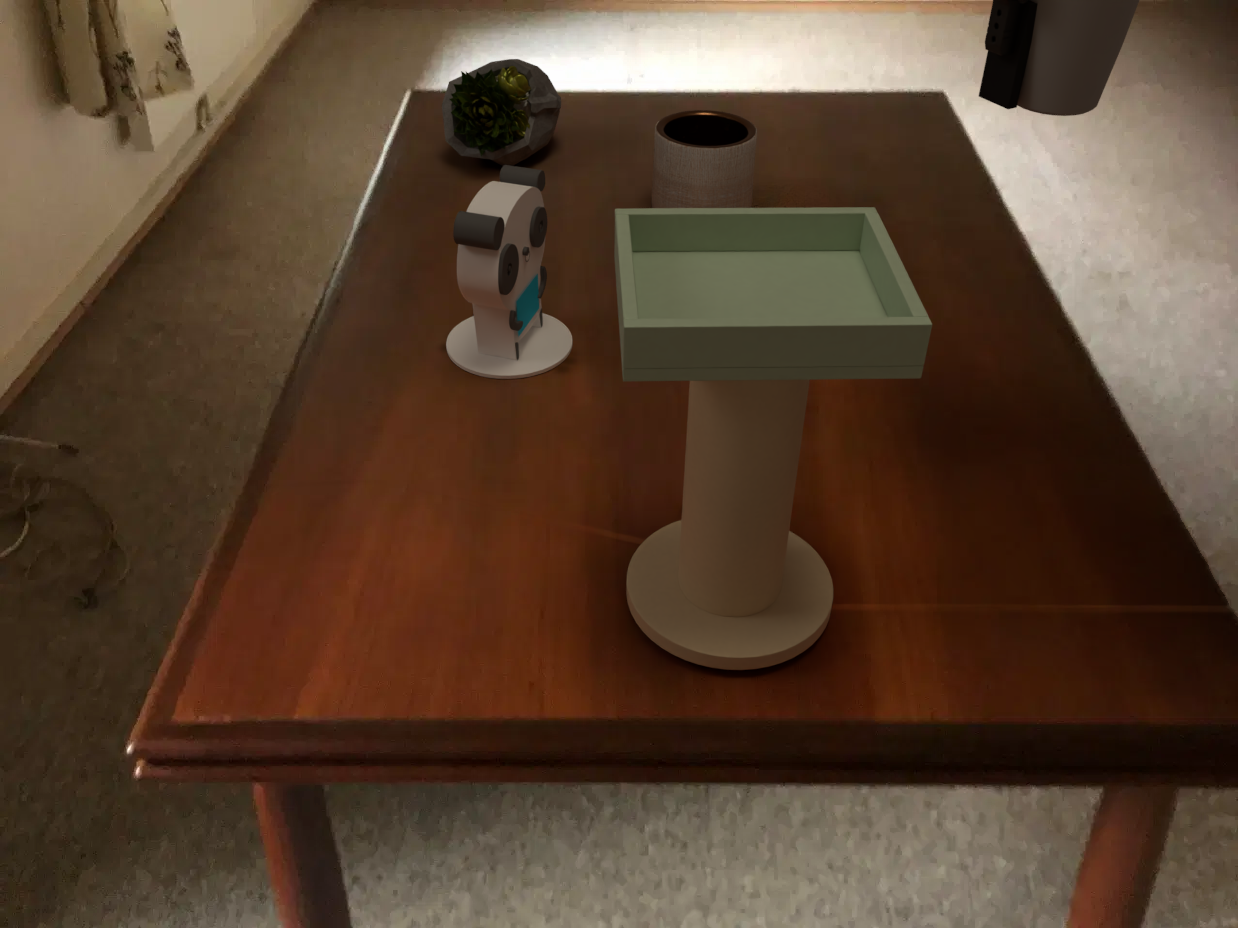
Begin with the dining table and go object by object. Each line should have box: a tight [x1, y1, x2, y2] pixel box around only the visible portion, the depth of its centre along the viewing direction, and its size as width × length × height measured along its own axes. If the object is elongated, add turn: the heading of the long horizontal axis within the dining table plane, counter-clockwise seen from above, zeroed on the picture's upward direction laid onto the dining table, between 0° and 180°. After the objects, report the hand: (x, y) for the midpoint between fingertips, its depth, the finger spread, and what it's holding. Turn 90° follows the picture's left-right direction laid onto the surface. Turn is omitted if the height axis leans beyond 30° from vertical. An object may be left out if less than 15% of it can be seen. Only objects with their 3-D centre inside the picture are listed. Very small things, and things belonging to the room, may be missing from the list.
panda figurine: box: [445, 165, 573, 380], centre depth 98 cm, size 12×11×15 cm
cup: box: [1017, 0, 1140, 117], centre depth 74 cm, size 8×10×8 cm
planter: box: [650, 109, 758, 208], centre depth 122 cm, size 11×11×10 cm
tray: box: [613, 206, 933, 671], centre depth 70 cm, size 16×14×25 cm
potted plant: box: [441, 58, 562, 167], centre depth 132 cm, size 12×13×15 cm
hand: (1039, 92), depth 76 cm, fingers closed on cup, 7 cm apart
